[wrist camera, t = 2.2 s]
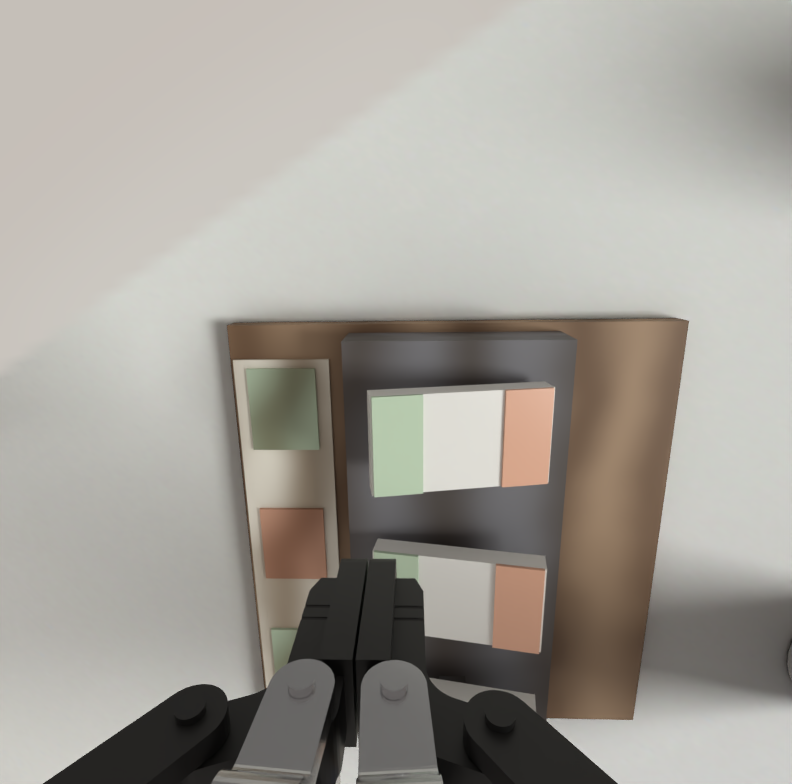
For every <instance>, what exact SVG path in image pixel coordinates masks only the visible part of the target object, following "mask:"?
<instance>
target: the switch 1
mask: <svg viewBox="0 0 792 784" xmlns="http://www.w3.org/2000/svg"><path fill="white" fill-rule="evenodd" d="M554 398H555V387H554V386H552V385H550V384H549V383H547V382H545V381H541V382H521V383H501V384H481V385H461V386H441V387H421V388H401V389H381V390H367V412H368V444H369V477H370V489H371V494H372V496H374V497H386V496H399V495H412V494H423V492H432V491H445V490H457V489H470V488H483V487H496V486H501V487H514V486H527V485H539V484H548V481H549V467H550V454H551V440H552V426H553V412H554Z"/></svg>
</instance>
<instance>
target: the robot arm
mask: <svg viewBox="0 0 792 784" xmlns="http://www.w3.org/2000/svg"><path fill="white" fill-rule="evenodd" d="M787 666H788V671H789V676H790V678H791V680H792V644H791V646H790V649H789V652H788V661H787ZM358 729H359V766H358V778H357V780H356V784H617V783H616V782H615V781H614V780H613V779H612V778H611V777H609V776H608V775H607V774H606V773H605V772H604V771H603V770H601V769H600V768H599V767H598V766H597V765H596V764H595V763H593V762H592V761H591V760H590V759H589V758H588V757H587V756H585V755H584V754H583V753H582V752H581V751H580V750H579V749H577V748H576V747H575V746H574V745H573V744H572V743H571V742H569V741H568V740H567V739H566V738H565V737H564V736H563V735H561V734H560V733H559V732H558V731H557V730H556V729H555V728H553V727H552V726H551V725H550V724H549V723H548V722H546V721H545V720H544V719H543V718H542V717H541V716H540V715H538V714H537V713H536V712H535V711H534V710H533V709H532V708H530V707H529V706H528V705H527V704H526V703H525V702H524V701H522V700H521V699H520V698H518V697H517V696H515V695H513V694H511V693H508V692H505V691H500V690H488V691H483V692H480V693H478V694H476V695H475V696H473V697H472V698H471V699H470V700H469V702H465V701H462V700H459V699H456V698H453V697H451V696H448V695H446V694H445V693H443V692H442V691H440V690H439V689H438V688H437V687H436V686H435V685H434V684H433V683H432V682H431V680H430V678H429V677H428V674H427V671H426V656H425V625H424V595H423V590H422V588H421V587H420V585H419V583H418V582H417V580H416V579H415V578H397V570H396V559H370V560H369V561H368V559H341V562H340V566H339V570H338V574H337V578H320V580H319V581H318V582H317V583H316V584H315V585H314V586H313V587H312V588H311V589H310V591H309V594H308V597H307V601H306V604H305V608H304V610H303V614H302V619H301V620H300V624H299V627H298V630H297V633H296V637H295V640H294V643H293V646H292V650H291V653H290V656H289V659H288V663H287V664H286V665H285V666H283V667H282V668H280V669H279V670H278V671H277V672H276V673H275V674H274V676H273V677H272V679H271V680H270V682H269V685H268V687H267V688H266V689H264V690H262V691H260V692H258V693H255V694H252V695H249V696H245V697H241V698H238V699H234V700H230V701H227V697H226V695H225V693H224V692H223V690H221V689H220V688H218V687H216V686H213V685H208V684H201V685H195V686H191V687H188V688H185V689H183V690H181V691H179V692H177V693H176V694H174V695H172V696H171V697H169V698H168V699H167V700H165V701H164V702H162V703H161V704H159V705H158V706H156V707H155V708H153V709H152V710H150V711H149V712H147V713H146V714H145V715H143V716H142V717H140V718H139V719H137V720H136V721H134V722H133V723H131V724H130V725H128V726H127V727H125V728H124V729H123V730H121V731H120V732H118V733H117V734H115V735H114V736H112V737H111V738H109V739H108V740H106V741H105V742H103V743H102V744H100V745H99V746H98V747H96V748H95V749H93V750H92V751H90V752H89V753H87V754H86V755H84V756H83V757H81V758H80V759H78V760H77V761H76V762H74V763H73V764H71V765H70V766H68V767H67V768H65V769H64V770H62V771H61V772H59V773H58V774H56V775H55V776H54V777H52V778H51V779H49V780H48V781H46V782H45V783H43V784H340V772H341V768H342V762H343V755H344V748H345V747H356V744H357V735H358Z"/></svg>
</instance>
